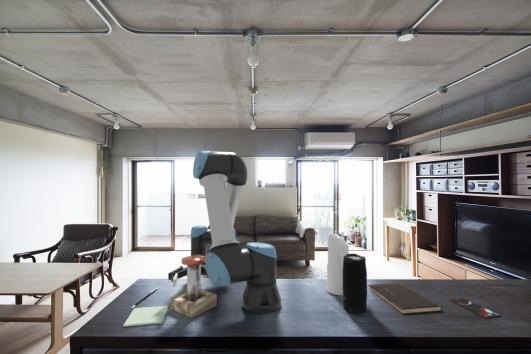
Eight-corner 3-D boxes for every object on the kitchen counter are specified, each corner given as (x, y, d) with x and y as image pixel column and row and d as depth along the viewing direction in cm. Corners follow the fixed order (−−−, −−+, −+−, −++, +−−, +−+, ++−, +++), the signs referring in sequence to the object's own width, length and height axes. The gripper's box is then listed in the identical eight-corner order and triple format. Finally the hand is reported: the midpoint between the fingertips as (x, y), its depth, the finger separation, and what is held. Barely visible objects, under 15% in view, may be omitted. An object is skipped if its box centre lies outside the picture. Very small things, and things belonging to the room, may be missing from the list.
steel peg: (211, 305, 102) (211, 257, 103) (192, 315, 95) (192, 263, 95) (195, 299, 107) (195, 254, 108) (176, 308, 100) (176, 259, 101)
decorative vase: (348, 285, 121) (348, 230, 122) (354, 295, 111) (353, 235, 111) (324, 285, 122) (324, 230, 123) (327, 294, 112) (327, 234, 112)
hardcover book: (401, 315, 95) (401, 308, 95) (368, 289, 118) (368, 284, 118) (442, 312, 97) (441, 305, 98) (401, 287, 120) (401, 282, 120)
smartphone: (462, 297, 108) (501, 315, 93) (462, 299, 108) (502, 317, 93) (447, 299, 106) (484, 317, 92) (447, 301, 106) (485, 319, 92)
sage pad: (168, 307, 101) (168, 305, 101) (162, 323, 89) (162, 321, 89) (134, 309, 99) (134, 308, 99) (123, 327, 87) (123, 325, 87)
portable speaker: (345, 315, 94) (344, 259, 95) (340, 303, 104) (340, 252, 104) (370, 316, 94) (369, 259, 94) (363, 304, 103) (362, 252, 103)
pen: (159, 289, 119) (159, 286, 119) (132, 309, 100) (132, 306, 100) (157, 289, 119) (157, 286, 119) (130, 309, 100) (130, 306, 100)
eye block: (216, 304, 103) (216, 294, 103) (192, 318, 93) (192, 306, 93) (195, 297, 110) (195, 287, 110) (170, 308, 100) (170, 298, 100)
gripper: (225, 271, 122) (227, 289, 101) (168, 275, 117) (157, 294, 96) (225, 254, 122) (227, 269, 101) (168, 257, 117) (157, 273, 96)
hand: (193, 281), depth 98 cm, fingers open, 13 cm apart
